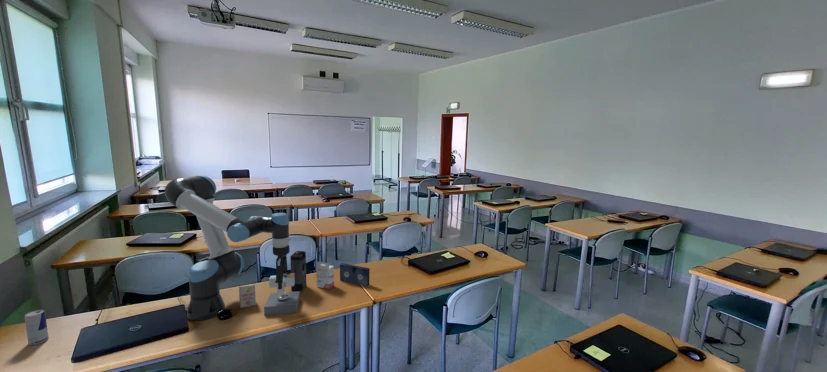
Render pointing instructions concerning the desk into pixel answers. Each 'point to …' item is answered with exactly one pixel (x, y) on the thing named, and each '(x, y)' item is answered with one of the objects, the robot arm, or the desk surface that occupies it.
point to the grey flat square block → (282, 304)
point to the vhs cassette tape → (354, 274)
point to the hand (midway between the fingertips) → (282, 290)
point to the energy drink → (36, 327)
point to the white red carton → (247, 296)
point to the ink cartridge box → (325, 275)
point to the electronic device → (298, 270)
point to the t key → (287, 280)
